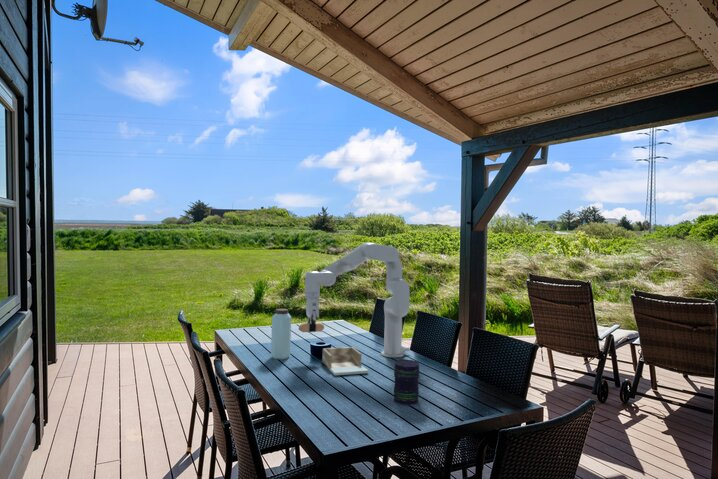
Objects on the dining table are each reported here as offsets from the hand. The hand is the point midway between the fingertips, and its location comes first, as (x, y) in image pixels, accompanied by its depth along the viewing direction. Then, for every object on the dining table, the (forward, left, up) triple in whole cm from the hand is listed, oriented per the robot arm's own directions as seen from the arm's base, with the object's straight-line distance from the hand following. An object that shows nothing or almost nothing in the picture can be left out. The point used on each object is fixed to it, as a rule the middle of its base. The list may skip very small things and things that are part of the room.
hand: (311, 330), depth 232 cm
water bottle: (+14, -8, -15) cm, 22 cm away
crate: (-13, +13, -15) cm, 24 cm away
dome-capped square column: (0, 0, 0) cm, 0 cm away
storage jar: (-24, +66, -15) cm, 72 cm away
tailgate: (-13, +21, -14) cm, 29 cm away
